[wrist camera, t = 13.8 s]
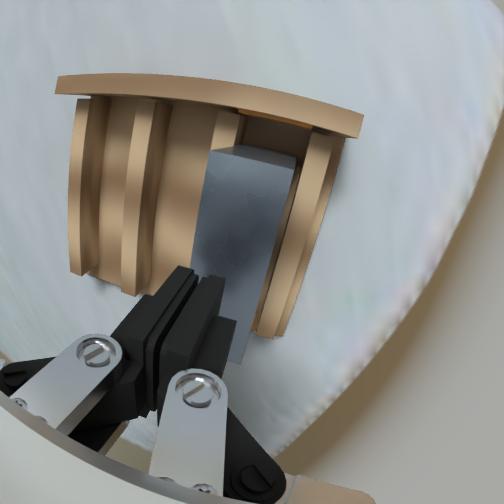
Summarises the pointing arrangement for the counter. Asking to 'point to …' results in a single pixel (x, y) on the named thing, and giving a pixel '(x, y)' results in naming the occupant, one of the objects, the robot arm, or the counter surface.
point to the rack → (189, 175)
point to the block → (240, 227)
